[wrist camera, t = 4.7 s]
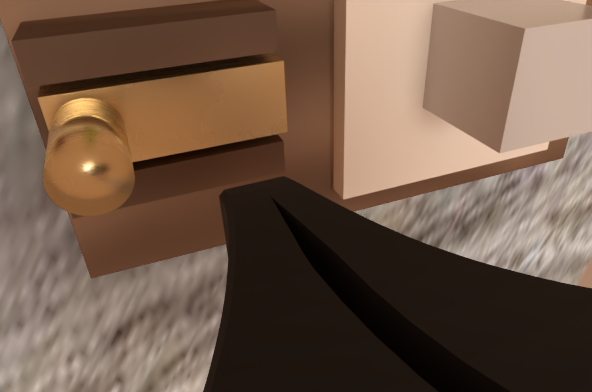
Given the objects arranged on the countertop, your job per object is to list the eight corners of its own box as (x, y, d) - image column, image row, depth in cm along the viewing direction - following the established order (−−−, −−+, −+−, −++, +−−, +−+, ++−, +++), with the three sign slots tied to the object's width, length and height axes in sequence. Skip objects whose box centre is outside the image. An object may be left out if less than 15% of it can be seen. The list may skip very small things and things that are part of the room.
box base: (541, 146, 27) (603, 179, 24) (90, 256, 20) (92, 322, 17) (620, -164, 20) (726, -177, 16) (-50, -155, 13) (-93, -175, 10)
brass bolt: (275, 119, 17) (323, 171, 14) (65, 158, 15) (60, 230, 12) (271, 51, 16) (322, 90, 12) (40, 84, 14) (27, 141, 10)
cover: (531, 141, 24) (631, 193, 20) (333, 188, 21) (399, 262, 17) (594, -119, 18) (755, -126, 14) (333, -107, 15) (435, -111, 11)
